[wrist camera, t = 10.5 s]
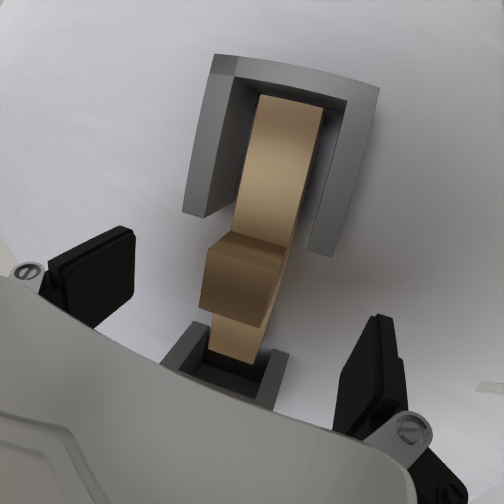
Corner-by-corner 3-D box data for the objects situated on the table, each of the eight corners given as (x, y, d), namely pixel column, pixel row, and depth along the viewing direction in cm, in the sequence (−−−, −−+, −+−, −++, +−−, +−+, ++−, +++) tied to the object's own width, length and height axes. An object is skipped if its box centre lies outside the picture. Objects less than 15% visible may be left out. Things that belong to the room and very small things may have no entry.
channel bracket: (193, 320, 23) (152, 371, 17) (288, 354, 21) (270, 417, 16) (187, 366, 24) (152, 416, 19) (270, 397, 23) (251, 456, 18)
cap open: (242, 73, 16) (214, 53, 12) (368, 102, 15) (379, 88, 11) (215, 196, 19) (181, 212, 15) (332, 231, 18) (331, 257, 14)
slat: (274, 103, 16) (242, 82, 10) (325, 115, 16) (320, 98, 10) (225, 321, 22) (188, 378, 16) (265, 334, 22) (238, 397, 16)
